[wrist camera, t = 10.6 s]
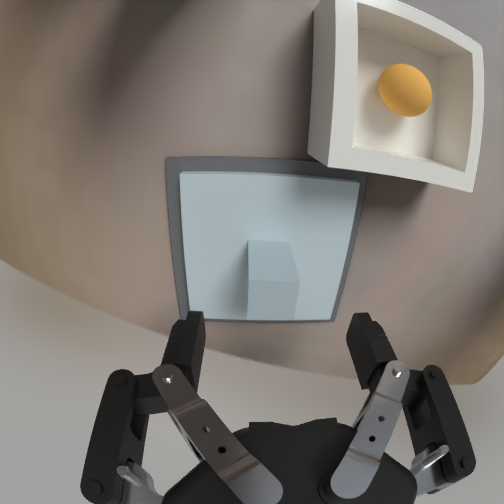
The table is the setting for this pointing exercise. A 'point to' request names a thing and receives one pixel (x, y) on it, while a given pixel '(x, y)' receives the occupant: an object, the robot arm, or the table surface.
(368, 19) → the dish
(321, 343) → the table surface
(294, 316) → the lid
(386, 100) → the clementine
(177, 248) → the mat
